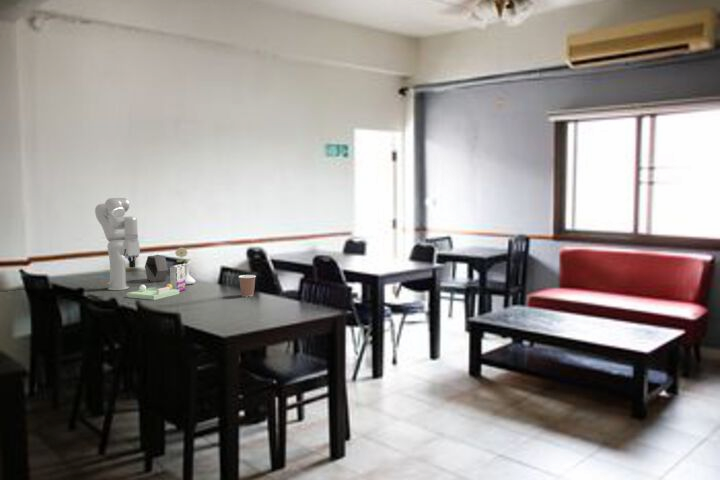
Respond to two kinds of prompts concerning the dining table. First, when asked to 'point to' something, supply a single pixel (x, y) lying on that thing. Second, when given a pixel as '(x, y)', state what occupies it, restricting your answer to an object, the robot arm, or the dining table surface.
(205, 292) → the dining table surface
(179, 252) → the flower in vase
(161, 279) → the planter
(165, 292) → the green deck
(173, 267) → the candy bar box
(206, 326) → the dining table surface
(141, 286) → the white ball
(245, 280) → the coffee cup
